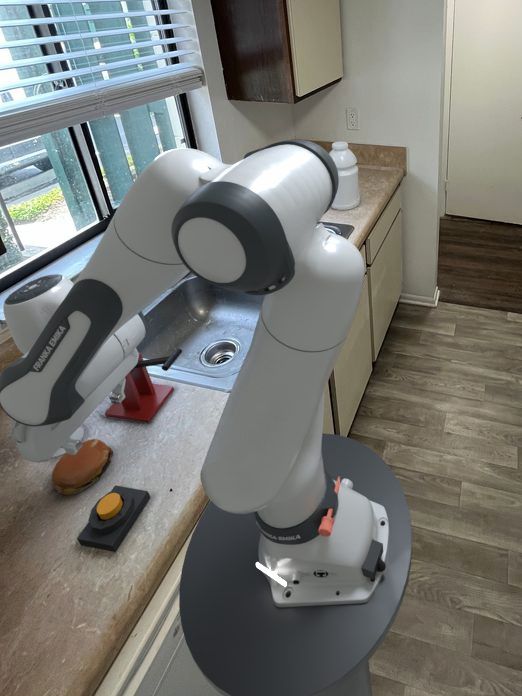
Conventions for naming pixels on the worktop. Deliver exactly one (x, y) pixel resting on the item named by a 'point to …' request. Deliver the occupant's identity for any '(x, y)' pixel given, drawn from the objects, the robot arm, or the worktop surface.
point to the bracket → (140, 397)
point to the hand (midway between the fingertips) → (98, 424)
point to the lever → (160, 361)
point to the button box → (114, 520)
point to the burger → (81, 467)
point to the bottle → (345, 177)
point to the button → (109, 506)
